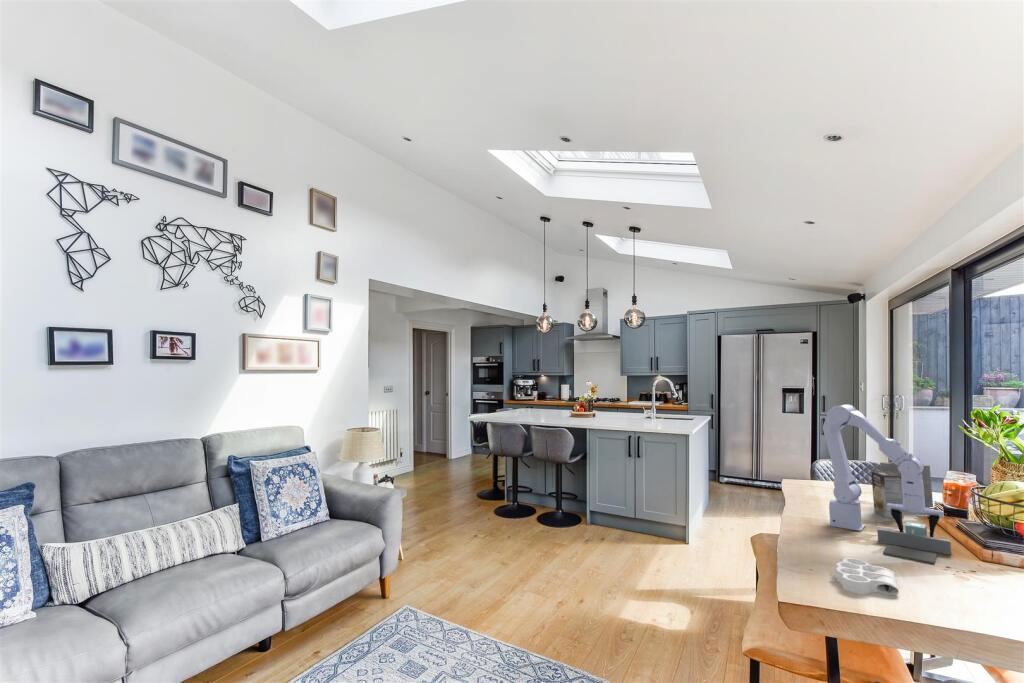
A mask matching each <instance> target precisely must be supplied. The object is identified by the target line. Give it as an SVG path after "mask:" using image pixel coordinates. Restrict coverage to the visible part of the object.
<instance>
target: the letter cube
mask: <svg viewBox="0 0 1024 683" xmlns="http://www.w3.org/2000/svg"><path fill="white" fill-rule="evenodd" d="M904 527H905V529H904V532H905V533H910V534H916V535H922V536H928V528H927V524H923V523H917V522H912V521H907V522H906V523H905V525H904Z"/></svg>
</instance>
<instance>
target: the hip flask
mask: <svg viewBox="0 0 1024 683" xmlns="http://www.w3.org/2000/svg"><path fill="white" fill-rule="evenodd" d="M879 463H880V464H879V465H880V471H889V472H891V473H894V474H896V475H899V476H901V473H900V472H899V470H898V465H896V464H894V463H893V462H892V461H880V462H879ZM923 465H924V469H923V471H922V472H921V473H922V477H923V485H924V497H925V508H927V507H933V508H934V502H933V489H932V487H933V486H932V476H931V467H930V465H929V464H924V463H923ZM921 473H919V474H921ZM901 479H902V477H901ZM901 487H902V483H901ZM902 500H903V495H902Z"/></svg>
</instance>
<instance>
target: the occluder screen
mask: <svg viewBox="0 0 1024 683" xmlns="http://www.w3.org/2000/svg"><path fill="white" fill-rule="evenodd" d="M876 531H877V542H878V543H884V544H887V545H893V546H899V547H904V548H909V549H915V550H920V551H925V552H931V553H936V554H943V555H949V556H952V545H951V543H952V542H951V540H950V539H944V538H938V537H934V536H933V537H930V536H928V535H927V536H922V535H916V534H910V533H906V532H905V531H904V532H900V531H896V530H892V529H885V528H881V527H878V528H877V529H876Z"/></svg>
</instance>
